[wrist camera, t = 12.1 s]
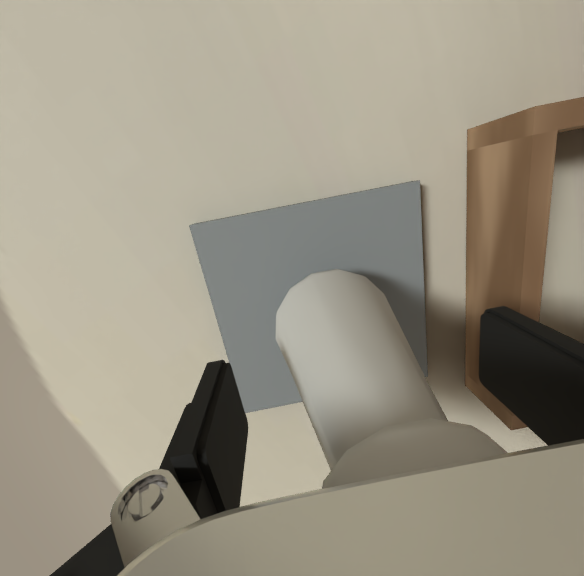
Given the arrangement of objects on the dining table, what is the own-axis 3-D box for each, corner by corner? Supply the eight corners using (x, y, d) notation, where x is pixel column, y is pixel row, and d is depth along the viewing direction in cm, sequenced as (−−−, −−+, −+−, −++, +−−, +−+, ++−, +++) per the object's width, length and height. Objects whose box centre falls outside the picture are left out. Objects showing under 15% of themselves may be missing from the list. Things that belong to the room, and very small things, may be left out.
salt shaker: (386, 331, 17) (680, 679, 5) (298, 367, 18) (361, 777, 5) (355, 242, 15) (695, 430, 3) (257, 283, 16) (206, 605, 3)
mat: (412, 181, 15) (419, 180, 15) (421, 369, 19) (427, 376, 18) (193, 224, 15) (188, 225, 15) (245, 404, 19) (244, 413, 18)
